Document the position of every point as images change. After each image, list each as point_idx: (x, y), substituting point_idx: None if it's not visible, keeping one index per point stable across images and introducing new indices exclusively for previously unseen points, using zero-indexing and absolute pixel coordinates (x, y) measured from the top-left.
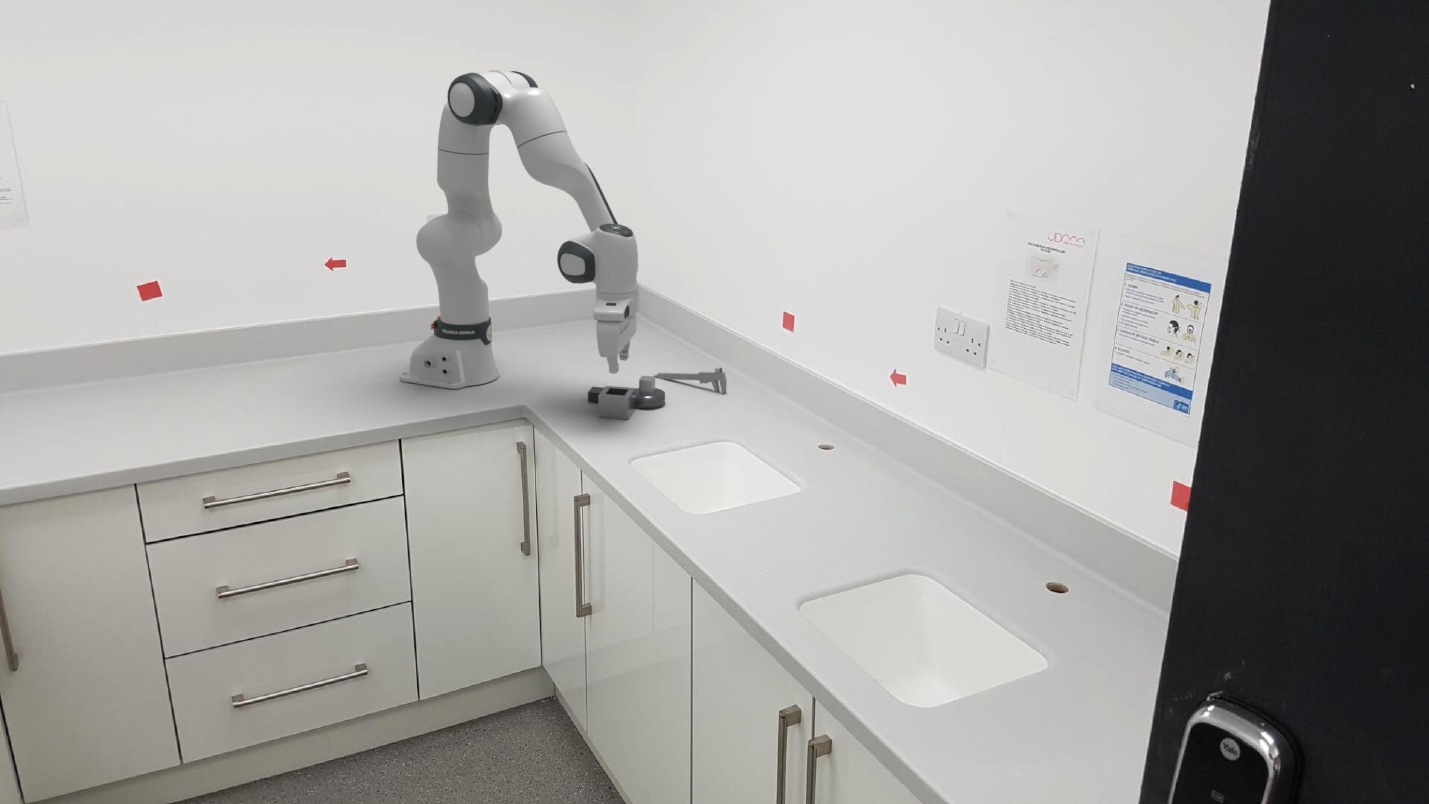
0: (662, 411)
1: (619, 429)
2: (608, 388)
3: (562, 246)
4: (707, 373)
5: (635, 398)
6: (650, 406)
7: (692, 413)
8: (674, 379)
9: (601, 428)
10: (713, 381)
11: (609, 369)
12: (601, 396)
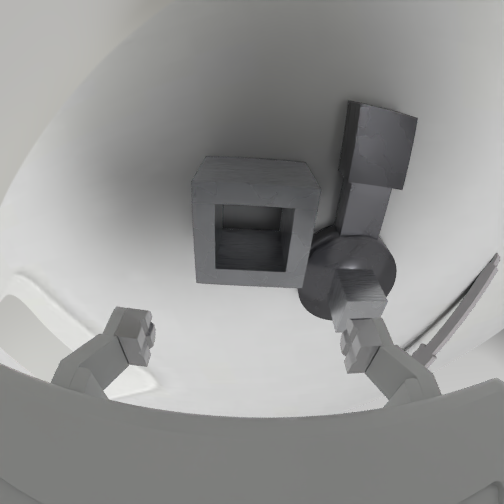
0: (286, 302)
1: (134, 230)
2: (289, 203)
3: None
4: None
5: (308, 261)
6: None
7: (278, 347)
8: (464, 297)
9: (125, 185)
10: None
11: (111, 318)
12: (192, 192)
